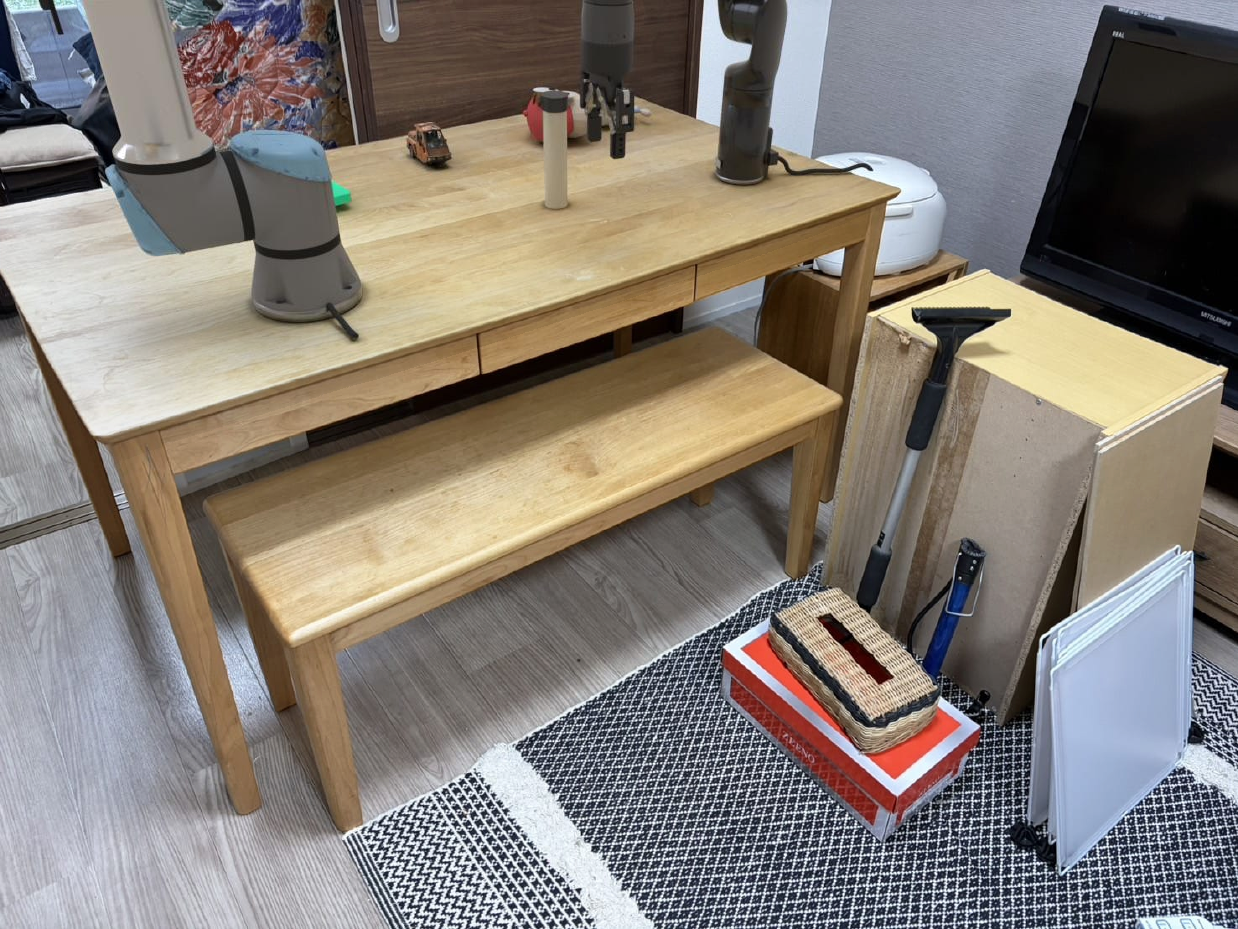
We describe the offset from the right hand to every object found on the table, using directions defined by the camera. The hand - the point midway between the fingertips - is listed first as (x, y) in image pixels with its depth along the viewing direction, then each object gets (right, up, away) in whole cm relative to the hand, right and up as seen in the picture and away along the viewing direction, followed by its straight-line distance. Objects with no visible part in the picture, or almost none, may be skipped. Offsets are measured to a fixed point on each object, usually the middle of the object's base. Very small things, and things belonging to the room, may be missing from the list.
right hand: (605, 149), depth 142 cm
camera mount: (-51, -2, +22) cm, 56 cm away
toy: (-5, +24, +59) cm, 64 cm away
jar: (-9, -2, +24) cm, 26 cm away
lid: (-9, +13, +13) cm, 21 cm away
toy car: (-35, +12, +41) cm, 56 cm away
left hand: (-79, +21, +4) cm, 81 cm away
